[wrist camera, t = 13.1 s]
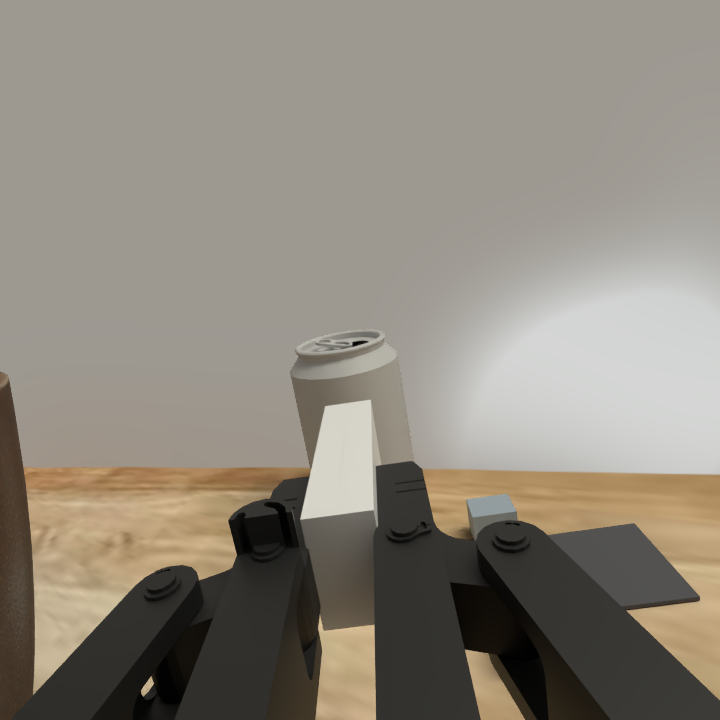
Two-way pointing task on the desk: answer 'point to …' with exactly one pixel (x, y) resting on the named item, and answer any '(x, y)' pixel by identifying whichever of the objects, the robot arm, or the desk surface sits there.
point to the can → (353, 387)
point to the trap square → (626, 566)
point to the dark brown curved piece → (14, 568)
